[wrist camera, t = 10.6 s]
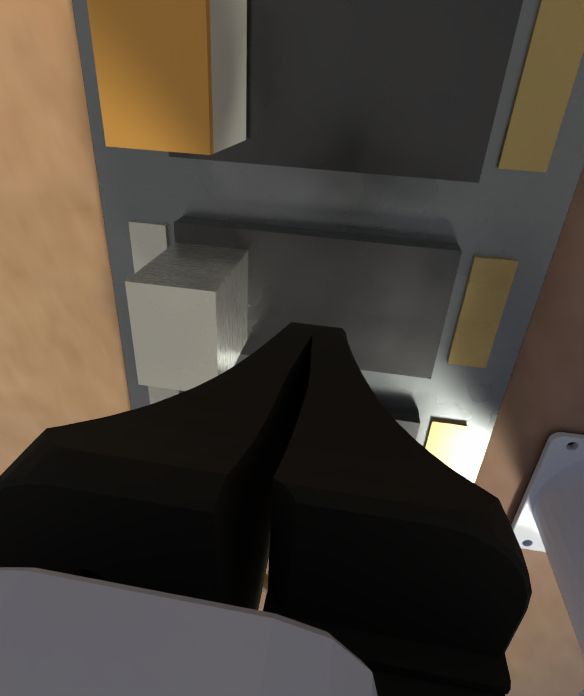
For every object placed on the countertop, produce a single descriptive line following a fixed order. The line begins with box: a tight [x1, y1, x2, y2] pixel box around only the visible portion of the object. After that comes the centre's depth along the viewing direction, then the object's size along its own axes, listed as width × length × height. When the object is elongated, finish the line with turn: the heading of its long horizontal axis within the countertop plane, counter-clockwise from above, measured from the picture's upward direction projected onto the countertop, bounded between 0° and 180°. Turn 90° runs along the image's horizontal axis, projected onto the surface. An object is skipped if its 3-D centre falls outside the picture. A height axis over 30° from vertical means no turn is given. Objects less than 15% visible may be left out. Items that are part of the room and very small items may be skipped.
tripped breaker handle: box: [87, 0, 247, 155], centre depth 14 cm, size 3×4×4 cm
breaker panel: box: [72, 0, 584, 483], centre depth 18 cm, size 18×24×6 cm
